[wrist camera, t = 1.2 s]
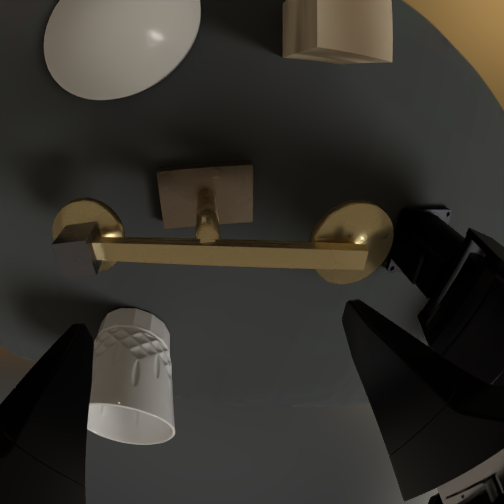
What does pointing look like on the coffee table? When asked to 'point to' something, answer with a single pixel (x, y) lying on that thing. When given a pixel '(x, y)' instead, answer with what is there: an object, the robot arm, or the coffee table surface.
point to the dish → (118, 44)
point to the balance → (208, 234)
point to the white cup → (132, 379)
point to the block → (338, 30)
